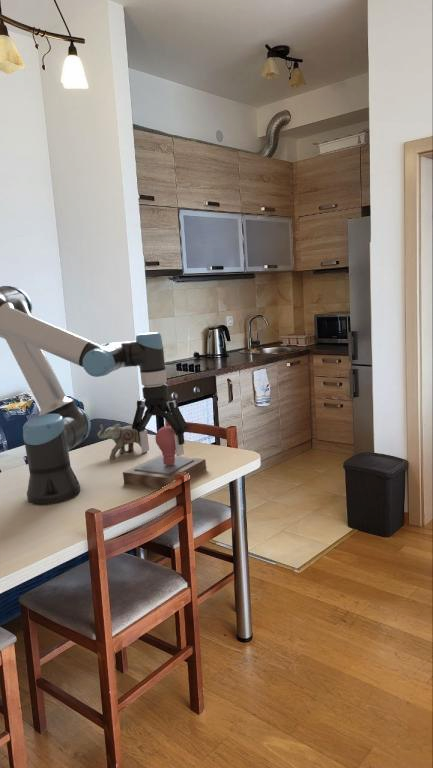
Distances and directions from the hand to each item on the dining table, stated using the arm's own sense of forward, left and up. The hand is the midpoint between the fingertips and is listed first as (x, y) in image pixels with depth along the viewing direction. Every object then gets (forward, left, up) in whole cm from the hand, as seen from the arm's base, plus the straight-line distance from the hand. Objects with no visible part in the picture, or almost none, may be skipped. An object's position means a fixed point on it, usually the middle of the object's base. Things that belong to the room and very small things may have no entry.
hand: (162, 453), depth 175 cm
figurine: (-31, +15, -8) cm, 35 cm away
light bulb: (+3, 0, -4) cm, 4 cm away
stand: (0, 0, -8) cm, 8 cm away
